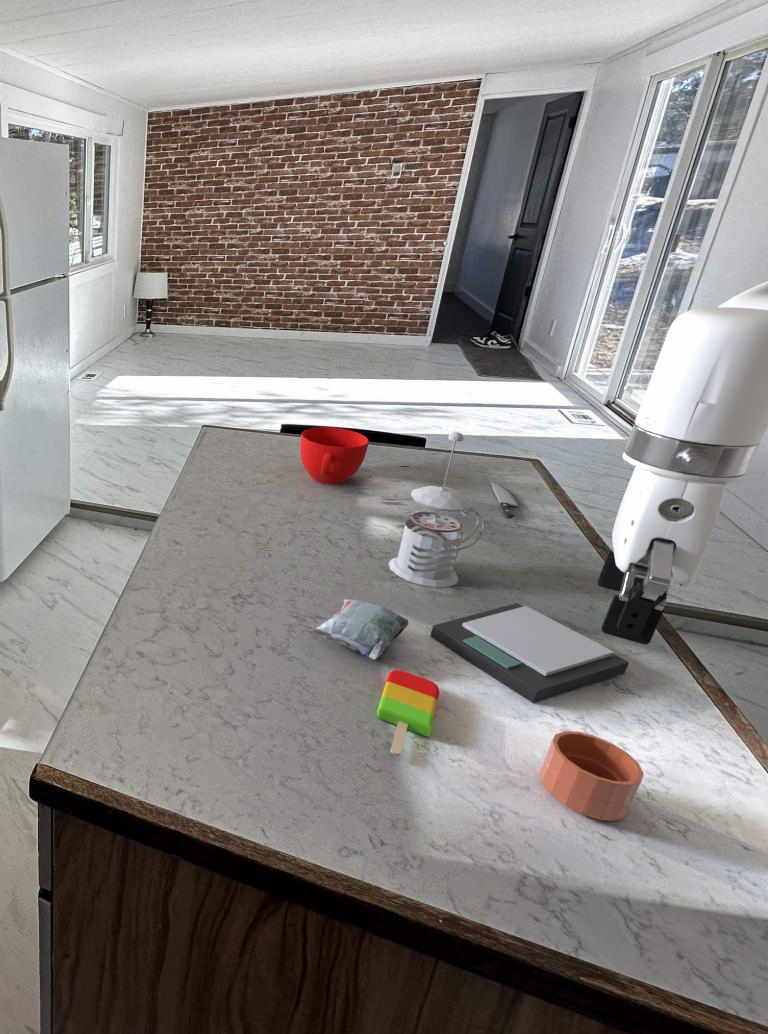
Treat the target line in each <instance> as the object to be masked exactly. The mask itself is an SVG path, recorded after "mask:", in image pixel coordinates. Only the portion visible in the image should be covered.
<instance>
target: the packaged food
mask: <svg viewBox="0 0 768 1034" xmlns="http://www.w3.org/2000/svg"><path fill="white" fill-rule="evenodd" d="M408 626H409V620H408V619H407V618H405V617H403V615H399V614H398V613H396V612H394V611H392V610H390V609H388V608H386V607H383V606H380V605H377V604H374V603H371V602H368V601H363V600H359V599H347V598H345V599H344V600H343V605H342V607H341V609H340V610H339V611H337V612H336V613H335V614H333V615H332V617H331V618H329V619H328V620H326V621H324V622H322V624H320V625H318V627H316V628H315V627H312V628H311V630H312V632H313V633H315V634H318V635H321V636H323V637H324V638H326V639H327V640H330V641H332V642H334V643H337V644H338V645H341V646H343V647H345V648H347V649H350V650H351V651H355V652H357V653H359V654H360V655H363V656H364V657H366V658H368V659H371V660H372V661H378V660H379V659H380V658H381V657H382V656H383V655H384V653H385V652H386V650H387V649H388V647H389V646H390V644H392V643H393V641H394V640H395V639H396V638H398V637H399V636H400V635H401V633H402V632H403V630H405V629H406V628H407V627H408Z"/></svg>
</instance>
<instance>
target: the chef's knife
mask: <svg viewBox="0 0 768 1034" xmlns="http://www.w3.org/2000/svg"><path fill="white" fill-rule="evenodd" d="M490 485H491V487H492V490H493V492H494V494H495V497H496V499H497V501H498V503H499V505H500V507H501V508H502V511H503V513H504V515H505V518H507V519H513V518H515V517H516V516H515V514H513V512H511V511H510V508H509V507H519V504H518V502H517V501H516V499H515V498H514V496H513V494H512V493H511V492H510V491H508V490H507V489H506V488H504V487H502V486H501V485H499V484H497V483H495V482H493V481H490Z"/></svg>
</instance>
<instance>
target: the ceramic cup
mask: <svg viewBox="0 0 768 1034" xmlns="http://www.w3.org/2000/svg"><path fill="white" fill-rule="evenodd" d="M368 447H369V439H368V438H367V436H365V435H363V434H362V433H359V432H357V431H354V430H349V429H345V428H339V427H327V426H325V427H324V426H323V427H311V428H308V429H305V430H303V431H302V432H301V436H300V449H299V450H300V452H299V453H300V459H301V463H302V465H303V468H304V469H305V471H306V472H307V473H308V475H309V476H310V478H311V479H312V480H313V481H315V482H318V483H321V484H326V485H341V484H343V483H344V482H345V481H347V480H348V479H350V478H352V477H353V476H354V475H355V474H356V473H357V472H358V470H359V469H360V467H361V466H362V464H363V462H364V461H365V458H366V454H367V451H368V449H369V448H368Z"/></svg>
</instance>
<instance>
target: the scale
mask: <svg viewBox="0 0 768 1034" xmlns="http://www.w3.org/2000/svg"><path fill="white" fill-rule="evenodd" d="M430 638H431V639H433V640H435V641H436V642H438V643H439V644H440V645H442V646H444V647H446V648H447V649H449V650H450V651H452V652H453V653H455V654H456V655H458V656H459V657H461V658H463V659H464V660H466V661H467V662H468V663H470V664H472V665H473V666H475V667H476V668H478V669H480V670H481V671H482V672H484V673H485V674H487V675H489V676H491V677H492V678H494V679H495V680H496V681H498V682H500V683H501V684H502V685H504V686H506V688H509V689H510V690H512V691H514V692H515V693H517V694H518V695H520V696H521V697H523V698H525V699H526V700H527V701H529V702H530V703H532V704H536V703H539V702H541V701H545V700H547V699H552V698H553V697H557V696H560V695H563V694H566V693H570V692H572V691H576V690H579V689H582V688H585V687H588V686H592V685H594V684H598V683H601V682H604V681H607V680H611V679H613V678H617V677H620V676H622V675H625V673H626V671H627V668H628V666H629V663H630V661H628V660H626V659H625V658H623V657H620V656H618V655H616V654H615V651H614V650H611V649H609V648H607V647H605V646H603V645H602V644H600V643H598V642H597V641H594V640H592V639H590V638H588V637H587V636H585V635H583V634H581V633H579V632H577V631H576V630H573V629H572V628H570V627H568V626H565V625H563V624H561V623H560V622H558V621H556V620H554V619H552V618H550V617H548V616H546V615H545V614H543V613H541V612H539V611H537V610H535V609H533V608H532V607H529V606H528V605H525V606H524V605H522V604H521V603H517V602H516V603H512V604H511V603H510V604H507V605H505V606H501V607H497V608H493V609H488V610H485V611H482V612H479V613H474V614H470V615H467V616H463V617H460V618H455V619H452V620H448V621H445V622H441V623H437V624H433V625H432V628H431V631H430Z"/></svg>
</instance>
